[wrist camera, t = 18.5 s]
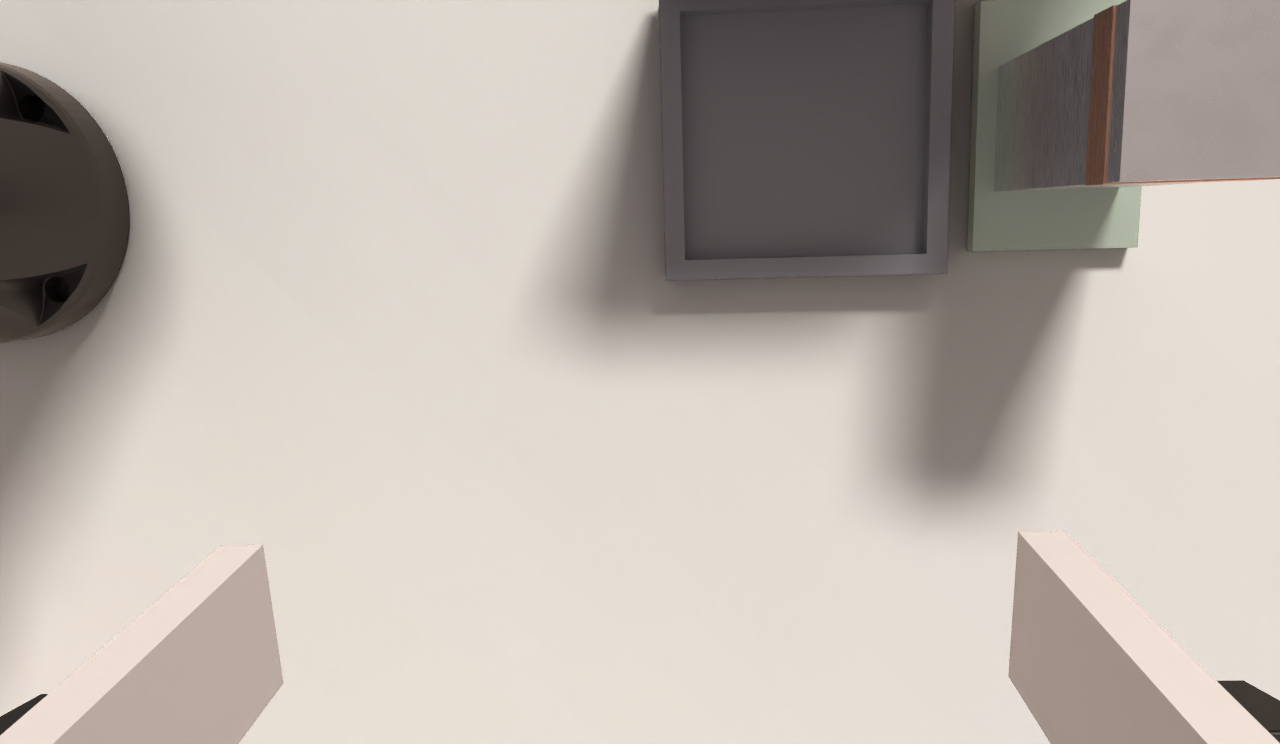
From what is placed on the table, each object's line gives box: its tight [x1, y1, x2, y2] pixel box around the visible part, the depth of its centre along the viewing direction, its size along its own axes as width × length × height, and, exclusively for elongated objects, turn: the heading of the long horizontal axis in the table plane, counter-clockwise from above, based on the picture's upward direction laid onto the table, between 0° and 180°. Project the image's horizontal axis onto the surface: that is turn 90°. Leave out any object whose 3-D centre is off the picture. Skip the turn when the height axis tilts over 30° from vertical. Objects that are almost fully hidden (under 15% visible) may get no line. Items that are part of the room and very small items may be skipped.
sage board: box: [967, 0, 1141, 252], centre depth 44 cm, size 8×12×1 cm, turn 2°
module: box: [994, 0, 1280, 192], centre depth 37 cm, size 6×6×14 cm
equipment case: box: [659, 0, 955, 280], centre depth 38 cm, size 14×15×16 cm
